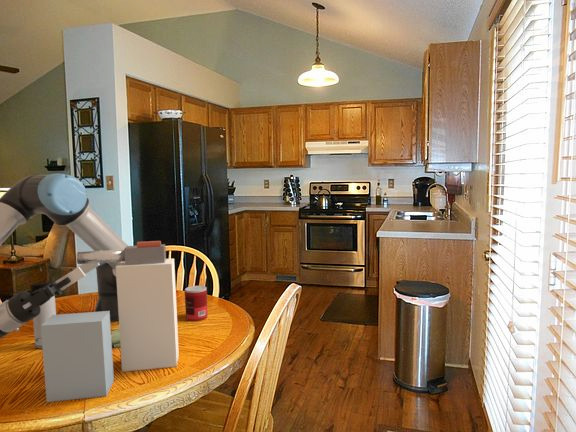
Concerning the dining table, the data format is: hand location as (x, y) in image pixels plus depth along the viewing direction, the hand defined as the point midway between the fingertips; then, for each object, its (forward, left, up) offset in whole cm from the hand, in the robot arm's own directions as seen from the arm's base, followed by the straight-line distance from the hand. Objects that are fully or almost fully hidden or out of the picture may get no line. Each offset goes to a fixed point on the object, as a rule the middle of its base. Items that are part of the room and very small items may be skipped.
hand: (89, 265), depth 116 cm
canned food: (-38, +25, -28) cm, 53 cm away
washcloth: (-22, +7, -29) cm, 37 cm away
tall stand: (-1, +14, -28) cm, 31 cm away
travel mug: (-22, -20, -28) cm, 41 cm away
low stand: (+12, 0, -28) cm, 31 cm away
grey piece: (-1, +9, 0) cm, 9 cm away
